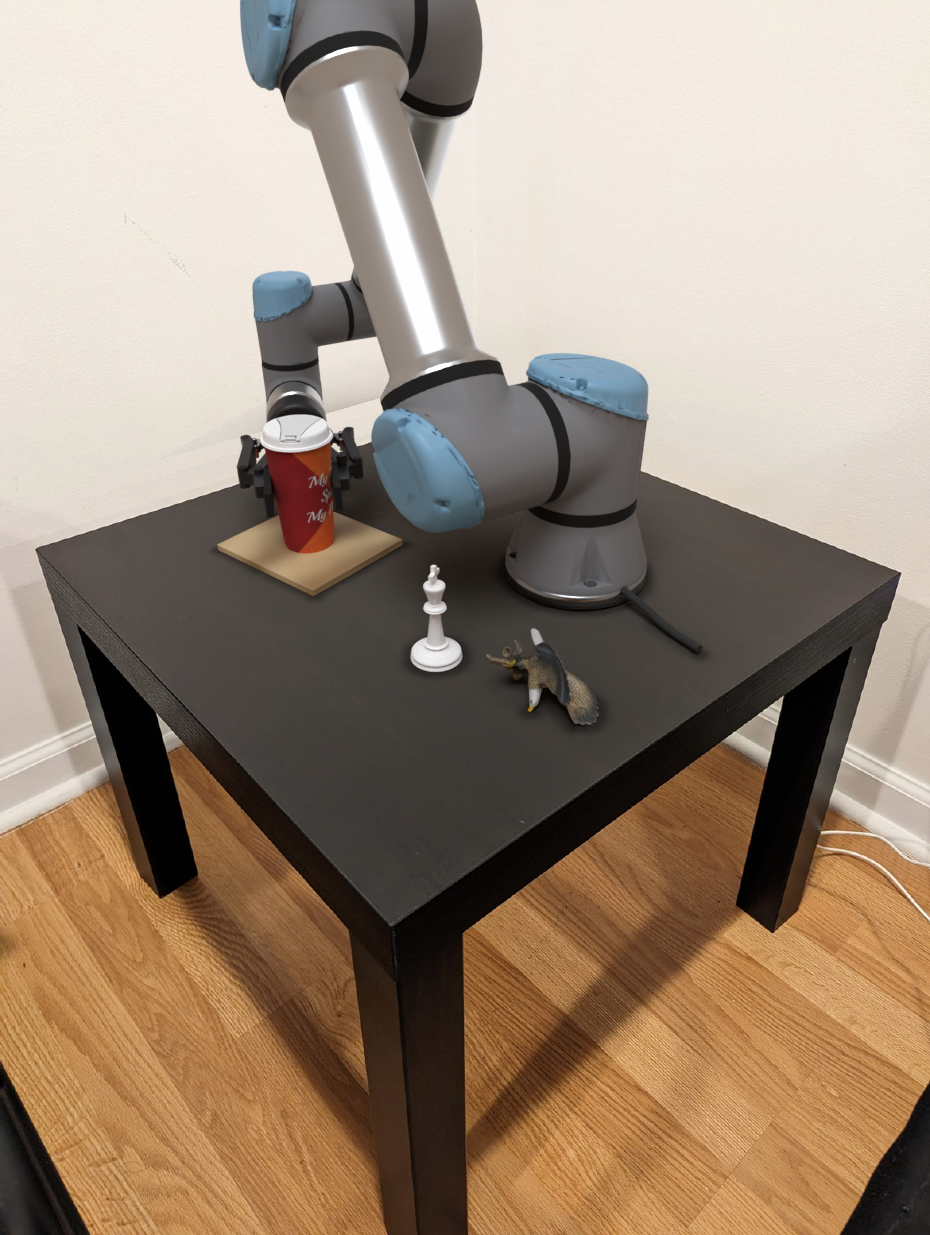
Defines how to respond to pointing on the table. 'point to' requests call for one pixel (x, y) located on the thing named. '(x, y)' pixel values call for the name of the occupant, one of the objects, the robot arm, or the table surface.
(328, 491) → the paper cup
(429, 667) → the chess piece
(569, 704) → the eagle figurine
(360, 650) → the table surface
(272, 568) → the birch board
